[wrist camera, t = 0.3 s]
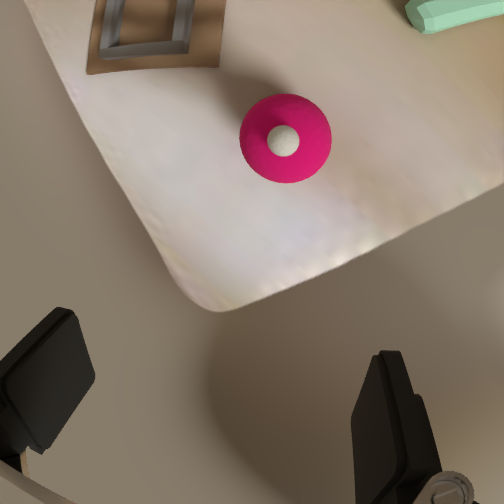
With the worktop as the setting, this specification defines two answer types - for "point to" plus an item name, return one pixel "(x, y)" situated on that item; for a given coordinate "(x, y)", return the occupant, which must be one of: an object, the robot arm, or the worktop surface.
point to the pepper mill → (285, 138)
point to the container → (449, 13)
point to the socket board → (155, 34)
